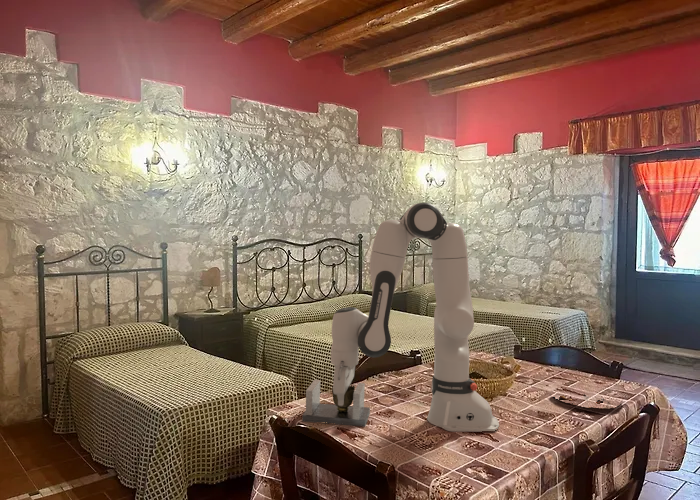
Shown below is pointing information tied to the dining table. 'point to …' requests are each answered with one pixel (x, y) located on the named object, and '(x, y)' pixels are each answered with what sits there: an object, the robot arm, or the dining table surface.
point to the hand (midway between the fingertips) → (343, 400)
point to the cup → (347, 399)
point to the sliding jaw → (312, 397)
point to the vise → (353, 416)
